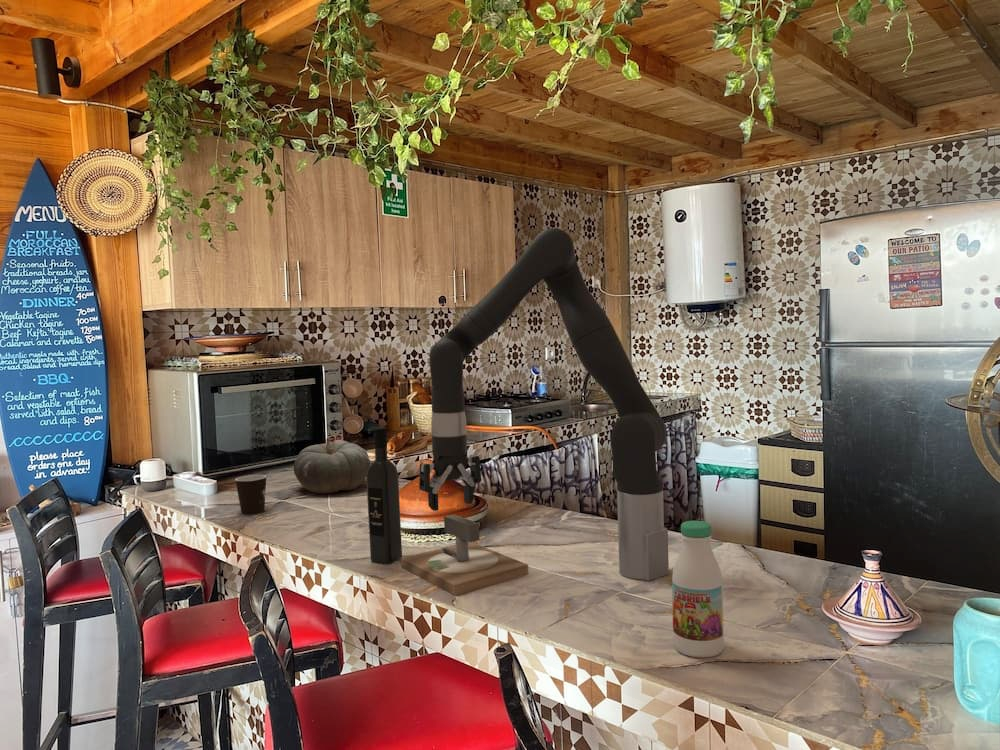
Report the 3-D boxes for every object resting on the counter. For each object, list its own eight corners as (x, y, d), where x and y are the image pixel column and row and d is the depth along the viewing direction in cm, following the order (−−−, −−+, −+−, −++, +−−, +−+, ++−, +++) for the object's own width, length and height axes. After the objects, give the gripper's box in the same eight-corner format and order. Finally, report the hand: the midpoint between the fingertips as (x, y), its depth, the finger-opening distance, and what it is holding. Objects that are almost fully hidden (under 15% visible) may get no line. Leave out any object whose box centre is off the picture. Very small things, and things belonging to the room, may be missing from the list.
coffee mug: (256, 516, 210) (253, 481, 209) (231, 514, 213) (228, 480, 212) (280, 506, 221) (278, 473, 220) (256, 504, 224) (254, 472, 223)
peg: (481, 563, 154) (479, 523, 153) (470, 566, 152) (468, 525, 151) (449, 549, 164) (447, 512, 163) (439, 552, 162) (437, 514, 162)
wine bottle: (388, 565, 163) (382, 430, 160) (368, 561, 165) (361, 429, 163) (404, 557, 168) (397, 426, 165) (384, 554, 170) (377, 425, 168)
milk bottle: (674, 635, 121) (672, 516, 120) (723, 639, 119) (721, 518, 117) (671, 656, 114) (668, 529, 112) (724, 661, 111) (721, 531, 110)
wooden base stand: (528, 573, 153) (527, 562, 153) (455, 595, 143) (454, 583, 143) (470, 549, 171) (469, 539, 171) (401, 567, 161) (400, 556, 161)
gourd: (351, 469, 261) (348, 422, 256) (388, 491, 242) (385, 441, 237) (284, 488, 245) (279, 439, 241) (317, 513, 227) (313, 461, 222)
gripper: (428, 438, 151) (431, 516, 152) (486, 430, 159) (488, 504, 160) (411, 434, 157) (414, 509, 158) (467, 426, 165) (469, 498, 166)
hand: (451, 506), depth 159 cm, fingers open, 8 cm apart
